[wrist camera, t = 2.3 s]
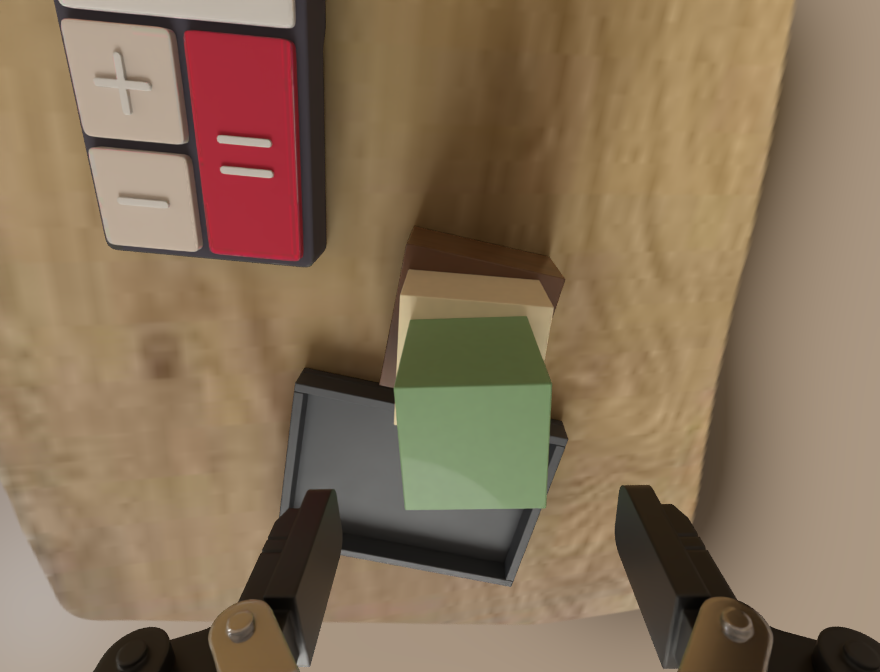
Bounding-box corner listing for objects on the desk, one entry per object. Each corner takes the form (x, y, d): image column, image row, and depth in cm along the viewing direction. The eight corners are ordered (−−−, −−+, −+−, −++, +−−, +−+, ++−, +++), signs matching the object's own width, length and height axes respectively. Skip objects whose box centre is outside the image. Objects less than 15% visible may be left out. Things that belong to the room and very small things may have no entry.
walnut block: (413, 225, 28) (406, 243, 24) (549, 256, 29) (565, 278, 24) (389, 350, 31) (379, 385, 27) (511, 376, 32) (520, 414, 28)
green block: (409, 319, 21) (393, 387, 16) (527, 315, 21) (552, 383, 15) (416, 418, 23) (404, 511, 18) (524, 416, 23) (546, 509, 17)
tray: (304, 367, 32) (294, 382, 30) (562, 420, 33) (568, 439, 31) (285, 521, 37) (275, 543, 35) (508, 563, 38) (511, 587, 36)
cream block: (408, 268, 24) (399, 294, 21) (539, 279, 24) (554, 307, 21) (402, 384, 27) (393, 425, 23) (521, 394, 27) (531, 436, 23)
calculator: (96, 254, 25) (10, -127, 19) (144, 233, 29) (86, -90, 23) (309, 273, 26) (297, -100, 19) (329, 250, 29) (325, -67, 23)
